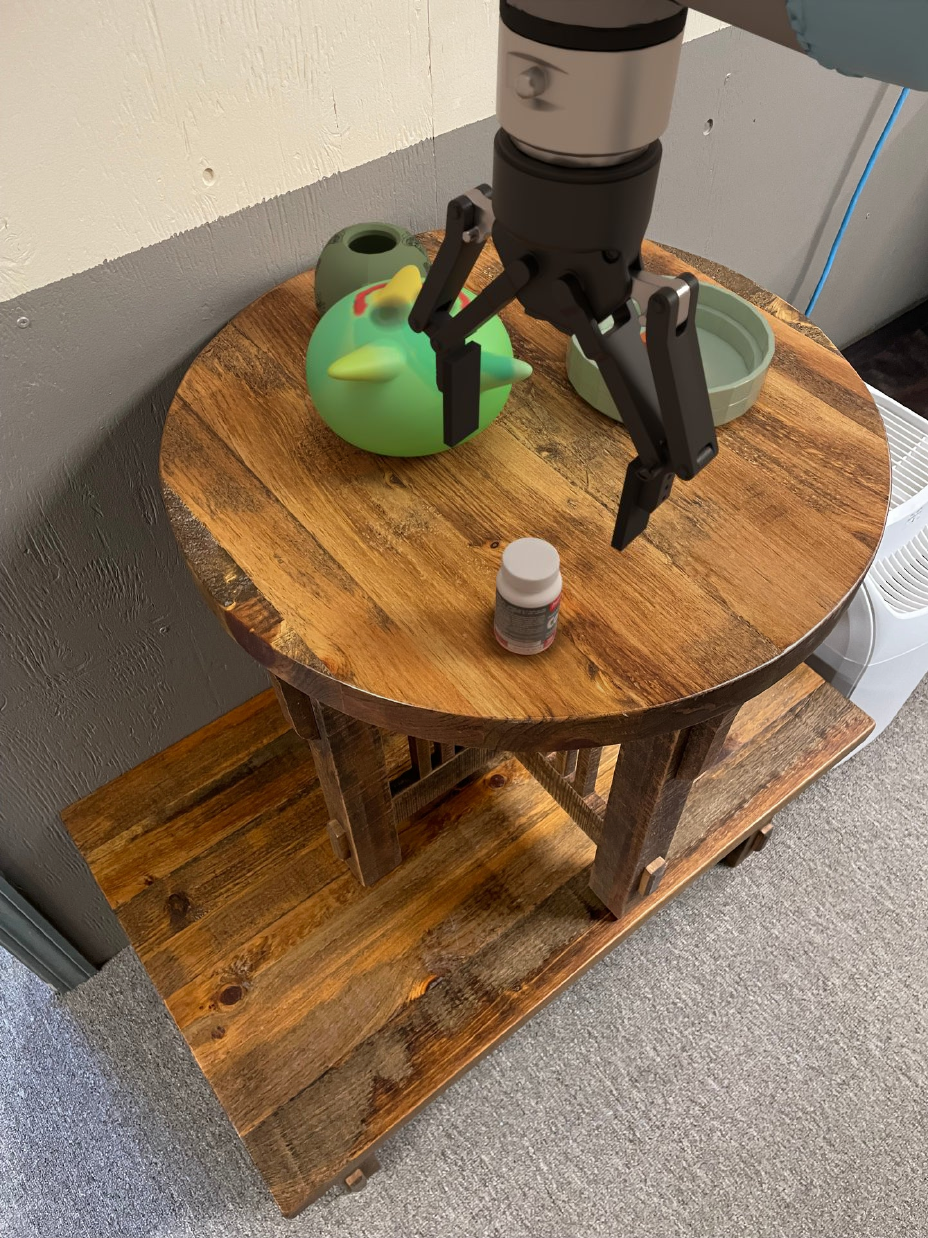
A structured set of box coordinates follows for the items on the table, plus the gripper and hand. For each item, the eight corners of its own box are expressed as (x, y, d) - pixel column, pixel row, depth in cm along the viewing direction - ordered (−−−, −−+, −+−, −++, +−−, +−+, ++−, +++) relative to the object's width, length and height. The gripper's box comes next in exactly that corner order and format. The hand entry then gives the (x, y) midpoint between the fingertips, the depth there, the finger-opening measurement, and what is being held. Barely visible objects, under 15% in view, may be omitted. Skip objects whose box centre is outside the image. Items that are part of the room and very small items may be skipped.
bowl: (795, 369, 86) (811, 325, 82) (692, 467, 78) (704, 423, 74) (636, 297, 94) (644, 254, 90) (525, 379, 85) (529, 334, 81)
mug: (325, 282, 96) (315, 204, 89) (441, 285, 96) (440, 207, 89) (304, 370, 86) (291, 291, 79) (434, 373, 86) (432, 294, 79)
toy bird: (487, 368, 86) (492, 225, 75) (532, 482, 76) (546, 336, 65) (307, 392, 84) (283, 247, 72) (329, 513, 74) (305, 368, 62)
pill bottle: (557, 657, 65) (568, 584, 58) (494, 656, 65) (497, 584, 58) (553, 607, 68) (563, 533, 61) (493, 607, 68) (496, 533, 61)
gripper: (323, 75, 41) (361, 425, 58) (791, 268, 31) (673, 623, 48) (431, 32, 45) (437, 374, 62) (883, 194, 35) (743, 549, 52)
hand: (540, 484), depth 55 cm, fingers open, 13 cm apart
